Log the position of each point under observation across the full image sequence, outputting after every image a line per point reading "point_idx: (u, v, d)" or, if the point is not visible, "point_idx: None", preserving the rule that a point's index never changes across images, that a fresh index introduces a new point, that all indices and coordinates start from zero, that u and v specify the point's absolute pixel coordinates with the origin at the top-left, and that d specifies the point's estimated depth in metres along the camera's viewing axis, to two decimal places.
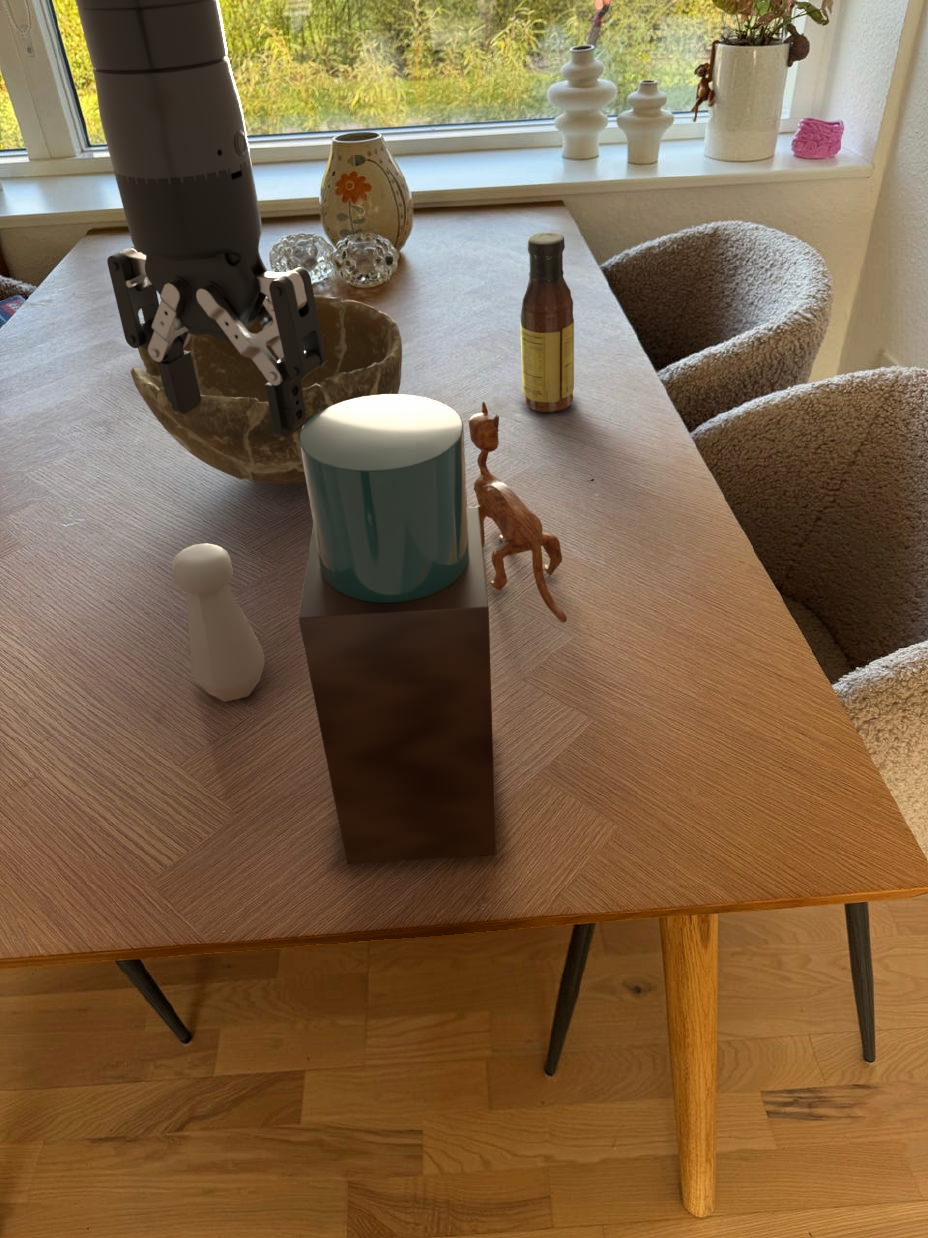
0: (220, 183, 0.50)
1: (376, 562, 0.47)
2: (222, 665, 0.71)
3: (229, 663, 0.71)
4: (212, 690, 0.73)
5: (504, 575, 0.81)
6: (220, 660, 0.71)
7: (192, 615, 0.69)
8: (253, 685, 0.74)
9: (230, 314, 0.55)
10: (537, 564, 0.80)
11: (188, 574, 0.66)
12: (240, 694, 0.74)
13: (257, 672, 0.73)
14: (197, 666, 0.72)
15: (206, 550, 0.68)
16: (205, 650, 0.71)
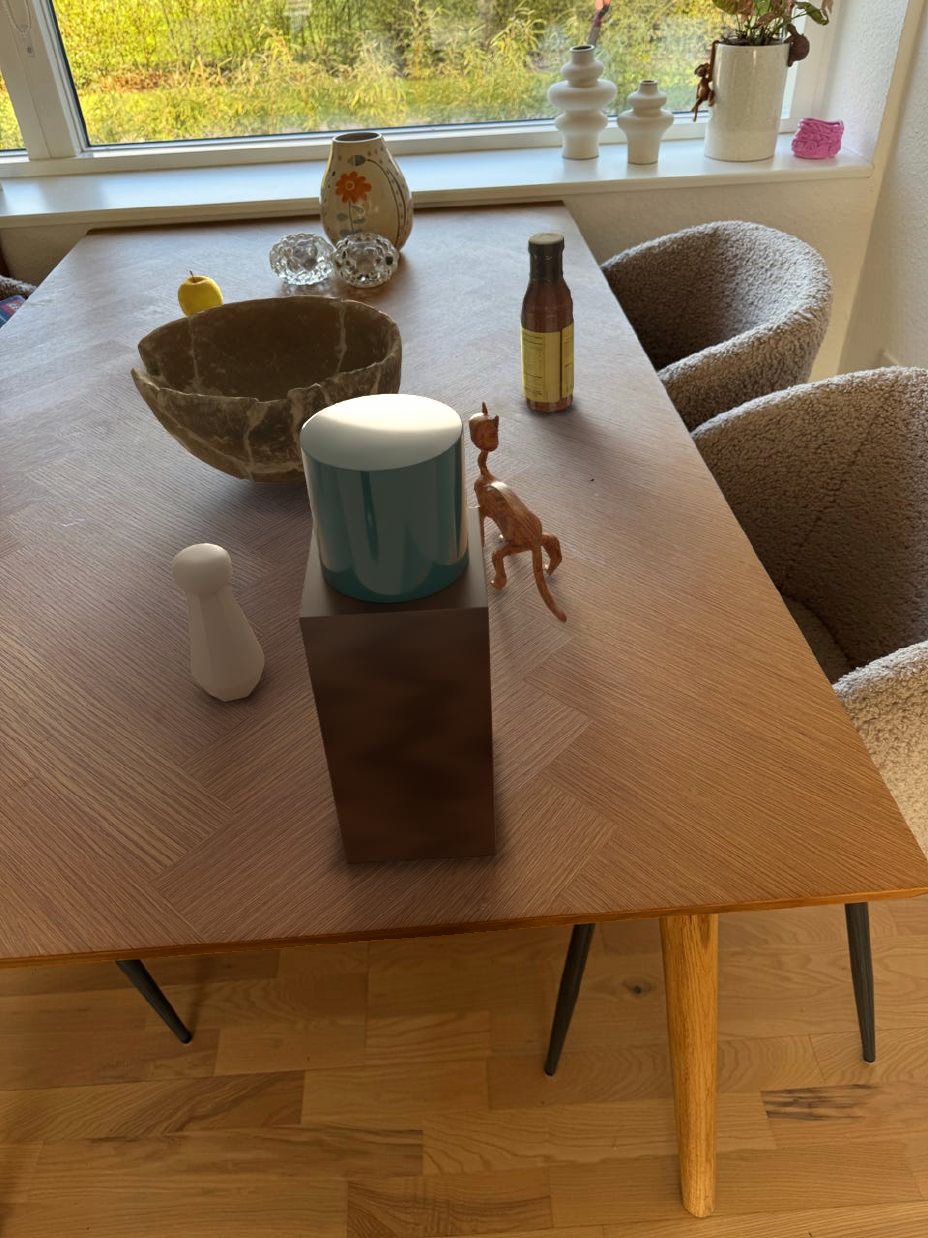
0: None
1: (376, 562, 0.47)
2: (222, 665, 0.71)
3: (228, 663, 0.71)
4: (212, 690, 0.73)
5: (504, 575, 0.81)
6: (220, 660, 0.71)
7: (192, 615, 0.69)
8: (253, 685, 0.74)
9: None
10: (537, 564, 0.80)
11: (188, 574, 0.66)
12: (240, 694, 0.74)
13: (257, 672, 0.73)
14: (197, 666, 0.72)
15: (206, 550, 0.68)
16: (204, 650, 0.71)
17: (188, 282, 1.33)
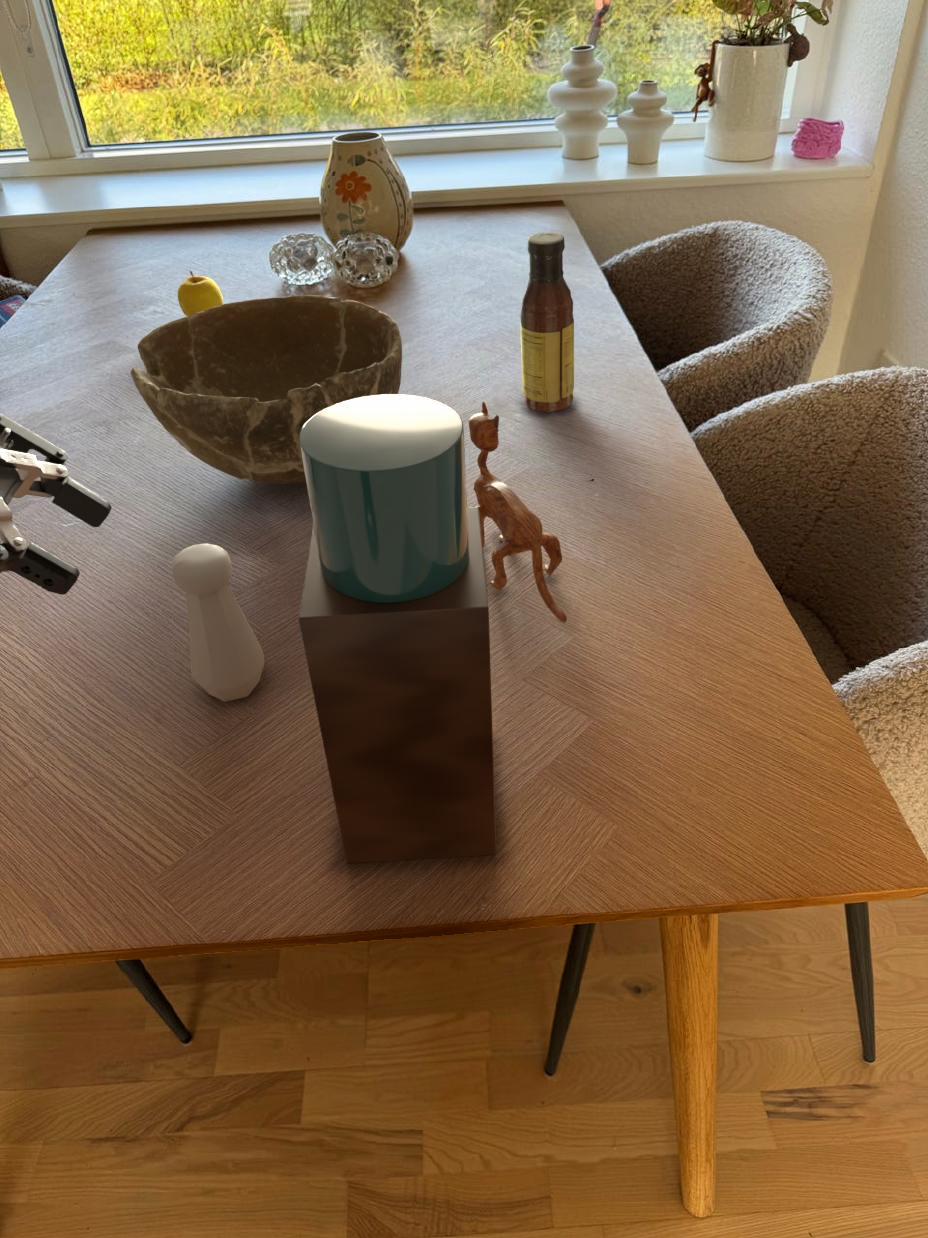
0: None
1: (376, 562, 0.47)
2: (222, 665, 0.71)
3: (228, 663, 0.71)
4: (212, 690, 0.73)
5: (504, 575, 0.81)
6: (220, 660, 0.71)
7: (192, 616, 0.69)
8: (253, 685, 0.74)
9: None
10: (537, 564, 0.80)
11: (187, 574, 0.66)
12: (240, 694, 0.74)
13: (257, 672, 0.73)
14: (196, 666, 0.72)
15: (206, 550, 0.68)
16: (204, 651, 0.71)
17: (188, 282, 1.33)
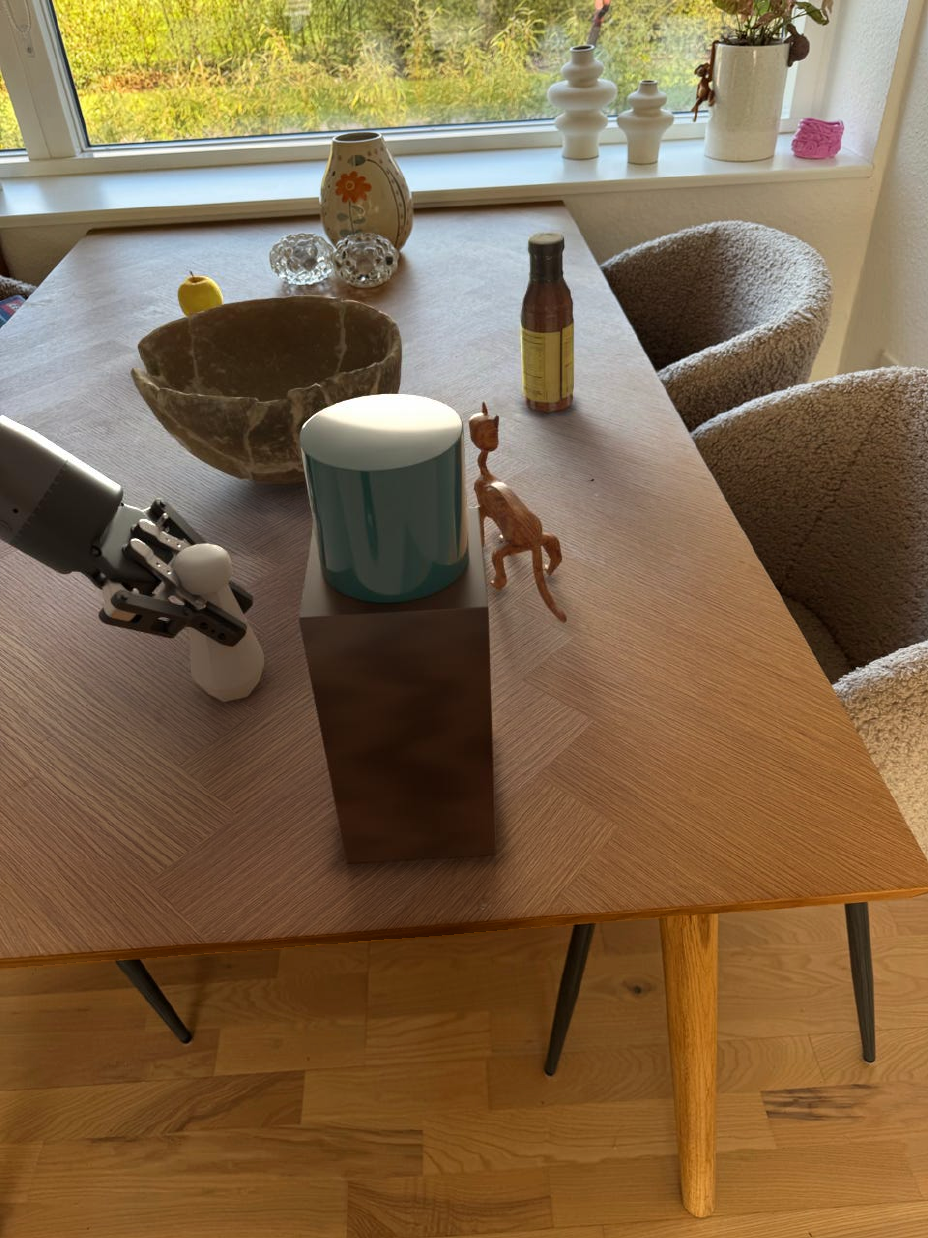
0: None
1: (376, 562, 0.47)
2: (222, 665, 0.71)
3: (228, 663, 0.71)
4: (212, 690, 0.73)
5: (504, 575, 0.81)
6: (219, 660, 0.71)
7: None
8: (253, 685, 0.74)
9: None
10: (537, 564, 0.80)
11: (188, 574, 0.66)
12: (240, 694, 0.74)
13: (257, 672, 0.73)
14: (196, 666, 0.72)
15: (206, 550, 0.68)
16: (204, 651, 0.70)
17: (188, 282, 1.33)
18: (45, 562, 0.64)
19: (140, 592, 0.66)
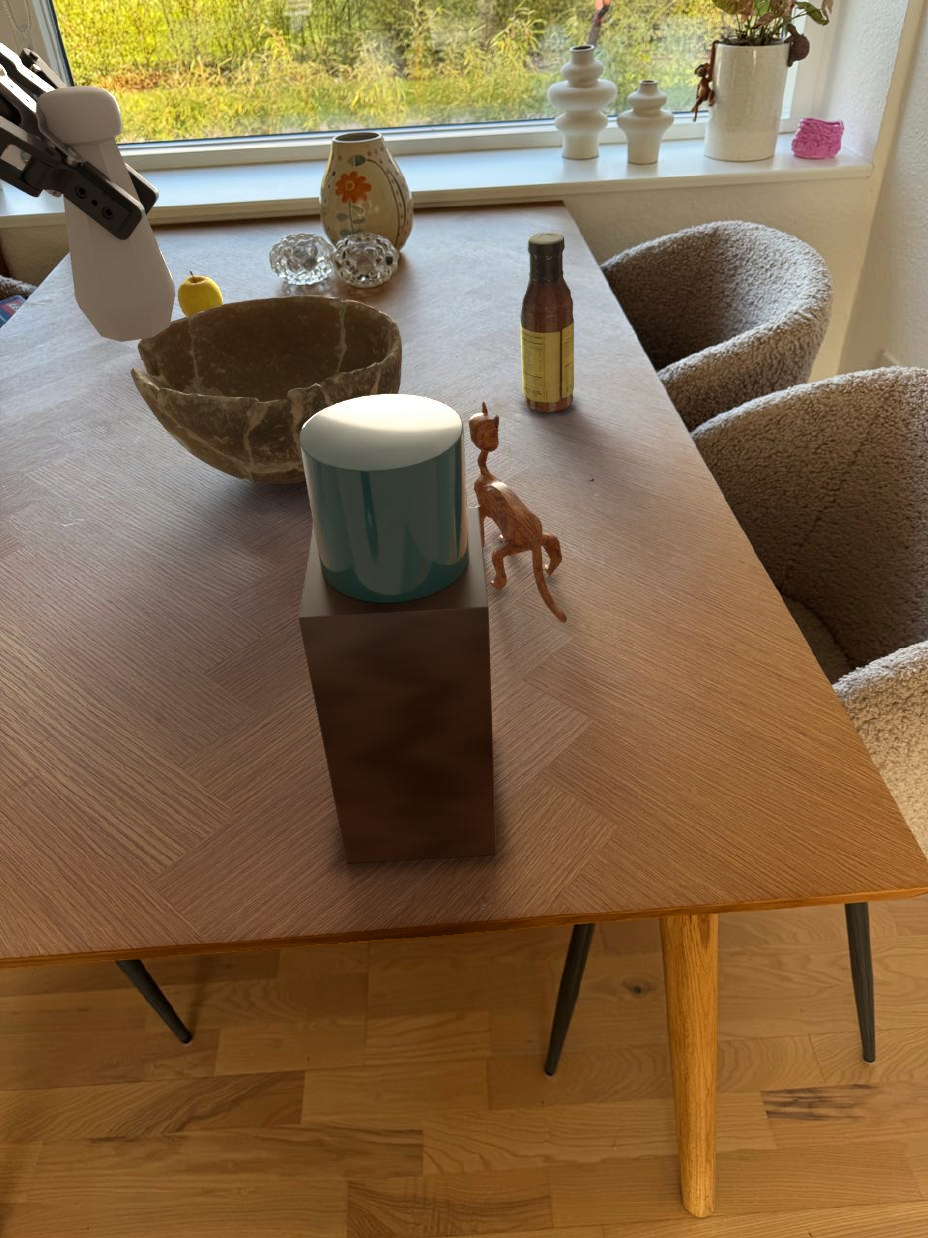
0: None
1: (376, 562, 0.47)
2: (112, 270, 0.52)
3: (121, 269, 0.52)
4: (101, 317, 0.54)
5: (504, 575, 0.81)
6: (108, 262, 0.52)
7: None
8: (159, 322, 0.56)
9: (27, 71, 0.50)
10: (537, 564, 0.80)
11: (54, 105, 0.48)
12: (141, 330, 0.55)
13: (163, 296, 0.55)
14: (79, 277, 0.53)
15: (84, 87, 0.49)
16: (87, 247, 0.52)
17: (188, 282, 1.33)
18: None
19: None
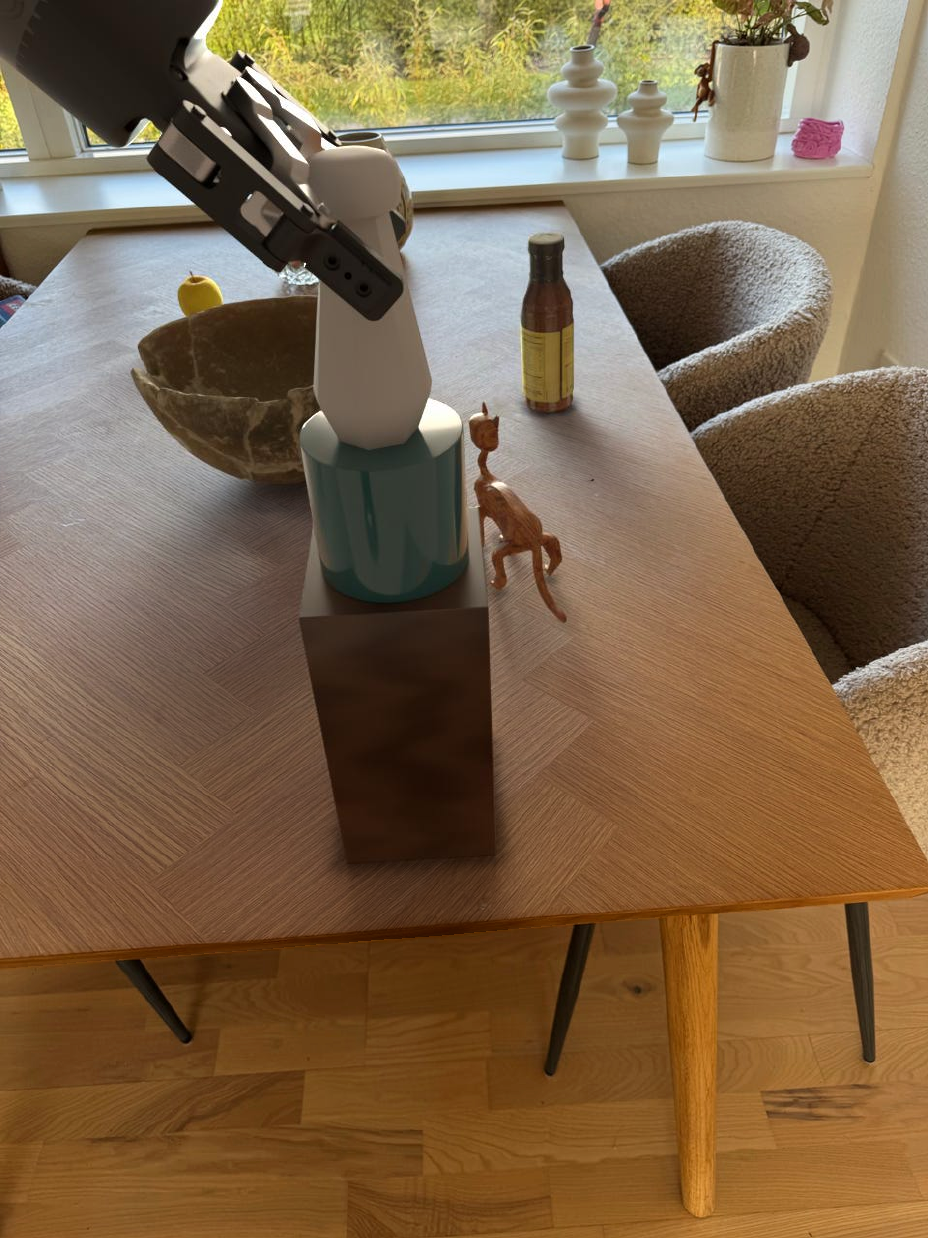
0: None
1: (376, 562, 0.47)
2: (374, 370, 0.42)
3: (385, 368, 0.43)
4: (352, 423, 0.44)
5: (504, 575, 0.81)
6: (371, 360, 0.42)
7: None
8: (413, 424, 0.46)
9: None
10: (537, 564, 0.80)
11: (333, 174, 0.38)
12: (394, 436, 0.45)
13: (424, 396, 0.45)
14: (329, 377, 0.43)
15: (359, 148, 0.39)
16: (347, 342, 0.42)
17: (188, 282, 1.33)
18: (84, 98, 0.35)
19: None
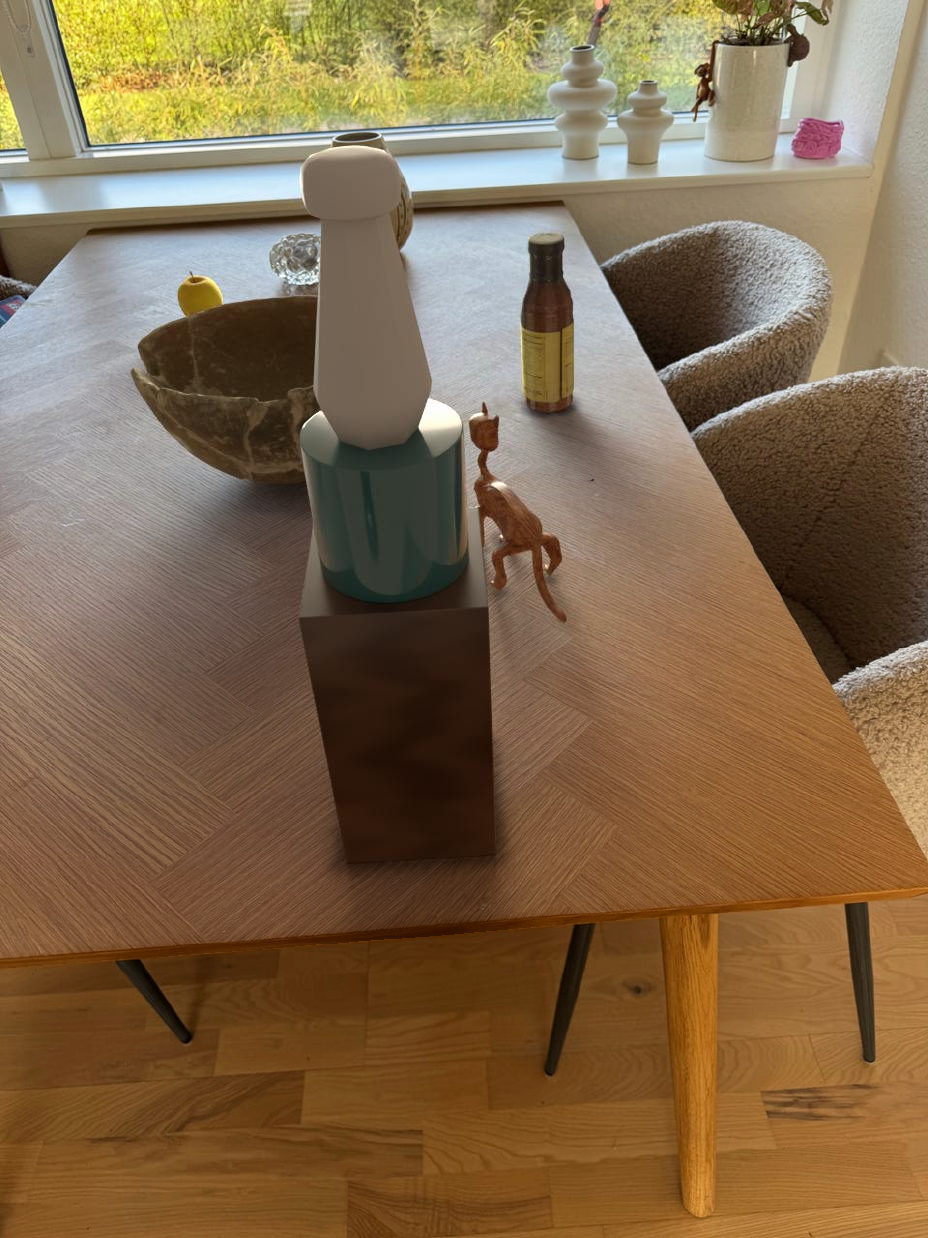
0: None
1: (376, 562, 0.47)
2: (374, 370, 0.42)
3: (385, 368, 0.43)
4: (352, 423, 0.44)
5: (504, 575, 0.81)
6: (371, 360, 0.42)
7: (330, 274, 0.41)
8: (413, 424, 0.46)
9: None
10: (537, 564, 0.80)
11: (333, 174, 0.38)
12: (394, 436, 0.45)
13: (424, 396, 0.45)
14: (329, 377, 0.43)
15: (359, 148, 0.39)
16: (347, 342, 0.42)
17: (188, 282, 1.33)
18: None
19: None
